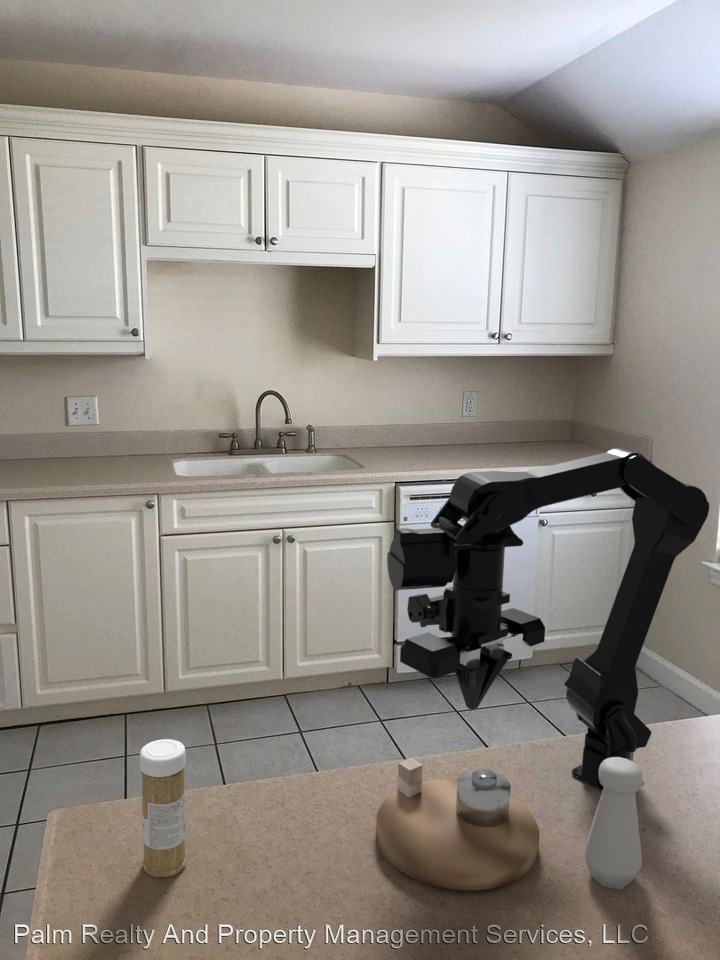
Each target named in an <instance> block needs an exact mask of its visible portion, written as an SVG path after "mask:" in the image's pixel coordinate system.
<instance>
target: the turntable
mask: <svg viewBox="0 0 720 960" xmlns="http://www.w3.org/2000/svg"><path fill="white" fill-rule="evenodd" d="M423 766H424V765H423V764H422V763H421V762H419V761H418V760H415V759H414V758H412V757H409V758H407V759H405V760H403V761H400V762H398V768H397V769H398V770H397V771H398V772H397V773H398V775H397V790H395V791H394V792H392V793H391V794H390V795H388V797H387V798H385V799H384V801H383V802H382V803H381V805H380V806H379V808H378V810H377V814H376V821H375V823H376V824H375V825H376V826H375V828H376V829H375V837H376V842H377V845H378V847H379V849H380V851H381V853H382V854H383V855H384V857H385V858H386V859H387V860H388V862H390V864H392V865H393V866H394V867H395V868H396V869H398V870H399V871H401V872H402V873H403V874H405V875H407V876H409V877H411V878H413V879H415V880H417V881H419V882H421V883H425V884H428V885H431V886H433V887H439V888H443V889H448V890H454V891H483V890H490V889H491V890H492V889H495V888H496V889H497V888H501V887H503V886H506V885H509V884H511V883H513V882H515V881H518V880H519V879H521V878H522V877H524V876H525V875H526V874H527V873H528V872H529V871H530V870H531V869H532V867H533V866H534V865H535V863H536V861H537V858H538V855H539V850H540V849H539V848H540V829H539V826H538V823H537V820H536V818H535V817H534V816H533V814H532V812H531V811H530V810H528V808H526V806H524V805H523V804H522V803H521V802H520V801H518V800H517V799H516V798H514V797H513V796H511V795H510V804H509V816H508V819H507V820H506V822H504V823H503V824H501V825H499V826H495V827H479V826H475V825H471V824H469V823H467V822H465V821H463V820H462V819H461V818H460V817H459V816H458V815H457V813H456V795H457V780H458V779H448V778H447V779H446V778H445V779H430V780H423Z"/></svg>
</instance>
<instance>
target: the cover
mask: <svg viewBox="0 0 720 960" xmlns="http://www.w3.org/2000/svg"><path fill="white" fill-rule="evenodd" d="M456 780H457V795H456V813H457V815H458V816H459V817H460V818H461V819H462V820H463V821H465V822H467V823H469V824H471V825H475V826H479V827H495V826H499V825H501V824H503V823H504V822H506V820H507V819H508V816H509V804H510V796H511V783H510V781H509V780H508V779H507V778H506V777H505V776H503V775H502V774H501V773H499V772H496V771H493V770H490V769H487V768H486V769H485V768H479V769H471V770H466V771H464V772H462V773H461V774H460V775H459V776H458V777H457V779H456Z"/></svg>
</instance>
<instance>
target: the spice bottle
mask: <svg viewBox="0 0 720 960" xmlns="http://www.w3.org/2000/svg"><path fill="white" fill-rule="evenodd" d="M140 749H141V750H140V752H139V768H140V771H141V781H142V783H141V786H142V787H141V791H142V793H141V796H142V797H141V798H142V801H141V802H142V803H141V804H142V805H141V811H142V812H141V813H142V814H141V818H142V820H141V821H142V824H141V825H142V842H143V861H142V866H143V867H142V868H143V870H144V872H146V874H147V875H149V876H152V877H156V878H168V877H169V878H170V877H172V876H174V875H176V874H178V873H180V872H181V871H182V870H183V869H184V868H185V866H186V864H187V856H186V826H187V825H186V789H185V767H186V762H187V761H186V759H187V757H186V747H185V745H184V744H183V743H182V742H181V741H179V740H175V739H171V738H164V739H158V740H154V741H153V740H152V741H150V742H148V743H147V744H145V745H144V746H142V748H140Z"/></svg>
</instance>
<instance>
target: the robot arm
mask: <svg viewBox="0 0 720 960" xmlns="http://www.w3.org/2000/svg"><path fill="white" fill-rule="evenodd" d="M616 489H619V490H621V492H622V493H623V494H624V495H626V497H628V498H630V499H631V500H632V501H634V506H633V511H632V516H631V522H632V529H633V530H632V531H633V538H634V544H633V548H632V551H631V554H630V557H629V559H628V563H627V565H626V568H625V570H624V574H623V576H622V578H621V581H620V584H619V587H618V590H617V592H616V596H615V597H614V602H613V603H612V606H611V610H610V612H609V615H608V617H607V620H606V624H605V626H604V628H603V632H602V635H601V637H600V640H599V643H598V645H597V648H596V650H595V651H594V652H593V653H591V654H590V655H589V656H588V657H587V658H585V659H582V658H580V657H578V656H577V657H575V658H574V660H573V661H572V666H571V671H570V674H569V676H568V679H566V681H565V682H564V683H563V685H564V686H565V687H566V688H567V689H566V694H565V696H566V697H565V699H566V701H567V703H568V705H569V707H570V708H571V709H572V710H573V711H574V713H575V715H576V719H577V720H578V721H579V722H581V723H583V724H584V725H585V726H586V727H587V731H586V732H587V733H585V735H584V746H583V749H582V758H581V759H582V760H581V764H580V765H578V766H575V767H574V768H572V769H571V774H572V775H573V776H575V777H577V778H578V779H580V780H582V781H584V782H586V783H588V784H590V785H592V786H594V787H595V788H597V789H599V790H600V791H603V788H604V787H603V786H602V785H601V784H600V781H599V767H600V764H601V763H602V762H603V761H604V760H605V759H607V758H611V757H621V758H625V759H628V760H630V761H633V762H634V752H635V753H636V751H637V750H638V749H640V748H642V749H643V748H646V746H647V745H648V743H649V740H650V738H651V735H652V730H651V729H650V728H648V726H647V725H646V724H645V723H644V722H643V721H642V720H641V719H640V718H639V716H637V715H636V714H635V712H636V709H637V708H636V707H637V702H638V699H639V687H638V686H639V685H638V678H637V671H636V670H637V663H638V659H639V657H640V655H641V652H642V650H643V647H644V645H645V644H644V643H645V641H646V638H647V636H648V633H649V630H650V627H651V624H652V622H653V620H654V616H655V614H656V611H657V609H658V606H659V603H660V600H661V598H662V594H663V593H664V589H665V586H666V583H667V582H668V579H669V575H670V573H671V570H672V567H673V565H674V561H675V560H676V558H677V557H678V556H679V555H680V554H681V553H682V552H684V551H685V550H686V549H687V548H688V547H690V545H692V544H693V543H694V542H695V541H696V539H697V538H698V536H699V533H700V532H701V530H702V529H703V526H704V525H705V523H706V520H708V516H709V511H710V502H709V501H708V498H707V496H706V494H705V493H704V491H703V490H702V489H701V488H699V487H697V486H694V485H692V484H689V483H686V482H682V481H680V480H678V479H676V478H675V477H674V476H671V475H670V474H668V473H667V472H666V471H664V470H663V469H661V468H659V467H657V466H655V464H653V463H652V462H651V461H649V460H648V459H647V458H646V457H645V456H644V455H643V454H641V453H640V452H639V453H638V452H635V451H632V450H628V449H625V448H621V447H617V448H616V447H615V448H612V449H610V450H608V451H606V452H602V453H598V454H595V455H590V456H586V457H582V458H578V459H577V458H576V459H573V460H569V461H564V462H561V463H560V462H559V463H556V464H552V465H548V466H542V467H539V468H534V469H531V470H527V471H502V470H489V471H488V470H487V471H470V472H466V473H464V474H462V475H461V476H459V477H458V478H457V479H456V481H455V483H454V484H453V486H452V488H451V491H450V495H449V498H448V499H447V500H446V501H445V503H444V504H443V506H442V507H441V508H440V509H439V511H438V513H437V514H436V515H435V516H434V518H433V519H432V521H431V522H430V527H431V528H418V529H415V528H414V529H412V528H407V527H405V528H404V527H402V528H396V529H395V530H394V539H393V540H392V542H391V543H390V546H389V550H388V552H387V556H386V557H387V559H386V561H387V563H386V564H387V571H388V572H387V573H388V576H389V577H388V578H389V581H390V583H391V586H392V589H394V590H395V591H404V590H417V589H418V590H419V589H420V590H421V589H433V588H444V587H445V589H444V591H443V594H442V595H437V596H434V597H429V595H428V593H424V594H423V593H422V594H419V593H418V594H416V595H412V596H411V595H410V596H408V601H407V615H408V620H409V621H410V622H411V623H414V624H416V623H419V625H420V628H426V627H427V626H436V625H437V626H438V630H439V631H441V632H443V633H450V634H451V637H450V638H445V639H443V638H441V637H440V636H437V635H435V634H433V633H431V632H426V633H422V634H418V635H415V636H411V637H409V638H406V639H405V640H404V641H402V643H400V650H399V652H400V653H399V662H400V663H401V664H403V665H404V666H405V665H406V666H407V667H410V668H411V669H413V670H415V671H417V672H419V673H421V674H423V675H425V676H427V677H429V678H430V679H431V678H433V679H438V678H442V677H444V676H447V675H450V674H453V673H454V674H455V677H456V679H457V683H458V685H459V688H460V690H461V694H462V697H463V701H464V703H465V706H466V708H468V709H469V710H471V711H475V710H476V709H478V708H479V706H480V704H481V703H482V701H484V698H485V696H486V694H487V693H488V692H489V689H490V688H491V686H492V684H493V683H494V682H495V680H496V678H497V676H498V675H499V674H500V672H501V671H502V670H503V668H504V667H505V665H506V663H507V662H508V661H509V660H512V658H513V653H512V652H510V651H507V650H505V644H504V641H505V640H508V639H512V638H514V637H517V636H518V635H522V642H523V643H524V644H525V645H526V646H527V647H533V646H536V645H539V644H542V643H544V642H545V639H546V637H545V635H546V626H545V624H544V623H543V621H542V618H540V617H537V616H536V615H533V614H530V613H527V612H524V611H522V610H520V609H517V608H514V607H512V608H509V609H505V610H502V605H505V604H509V603H510V601H511V594H510V593H509V592H505V591H504V590H503V589H504V588H503V587H504V572H505V571H504V568H505V552H506V551H505V550H506V548H509V547H510V548H511V547H512V548H513V547H522V546H523V545H524V541H523V539H521V538H520V537H519V536H518V535H517V534H516V533H515V532H514V530H513V529H512V525H515V524H517V523H519V522H521V521H523V520H525V518H526V517H528V516H529V515H530V514H531V513H532V512H534V511H536V510H539V509H540V508H543V507H547V506H551V505H555V504H560V503H564V502H567V501H572V500H575V499H579V498H584V497H587V496H592V495H595V494H599V493H604V492H608V491H611V490H612V491H613V490H616ZM460 520H463V521H465V523H464V524H463V525H462V524H461V523H459V521H460ZM449 583H452V586H450V587H446V586H447V585H448V584H449Z"/></svg>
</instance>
